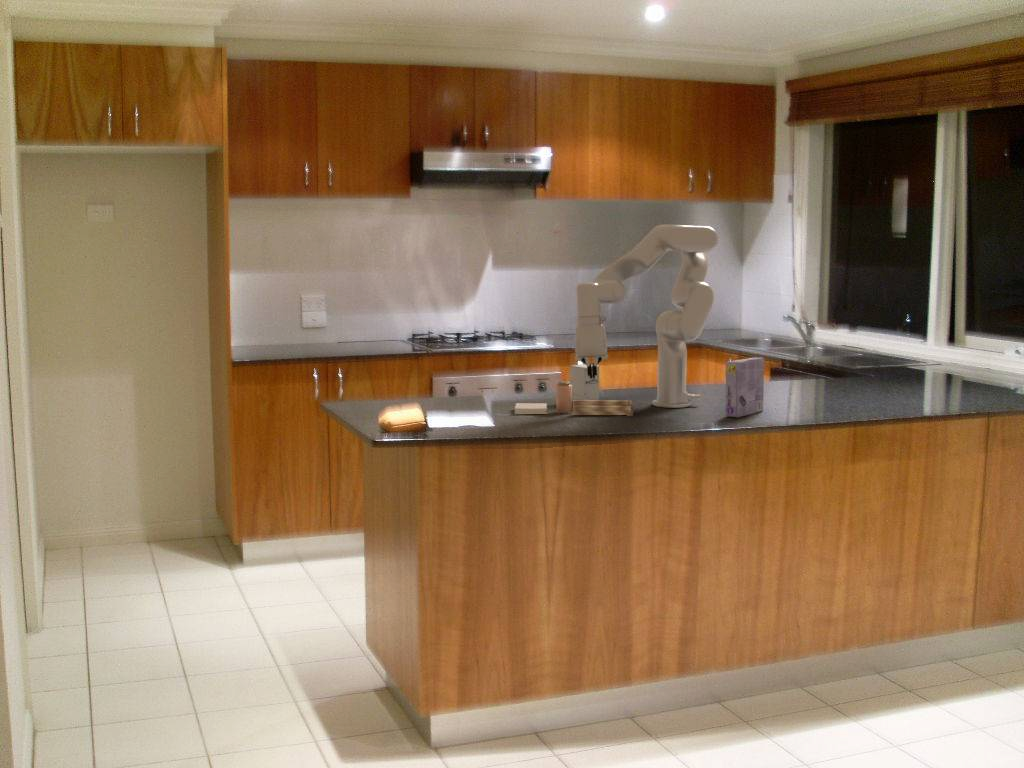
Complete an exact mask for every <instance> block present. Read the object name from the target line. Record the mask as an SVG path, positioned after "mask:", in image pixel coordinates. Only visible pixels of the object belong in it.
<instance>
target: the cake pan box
mask: <svg viewBox="0 0 1024 768" xmlns="http://www.w3.org/2000/svg"><path fill="white" fill-rule="evenodd" d="M764 377H765V357H749V358H743V359H736V360H731V361H725V417H730V418H736V419H738V418H741V417H745V416H750V415H754V414H756V413H760V412H763V411H764V396H765V395H764V392H765V391H764V390H765V389H764V388H765V387H764V386H765V385H764V384H765V383H764V381H765V378H764Z"/></svg>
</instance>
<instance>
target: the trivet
mask: <svg viewBox="0 0 1024 768" xmlns="http://www.w3.org/2000/svg"><path fill="white" fill-rule="evenodd" d="M547 406H548V404H547V403H546V402H545V403H543V402H542V403H541V402H540V403H537V402H536V403H535V402H534V403H533V402H528V403H527V402H526V403H525V402H524V403H523V402H522V403H521V402H518V403H517V402H516V403H515V406H514V415H515V414H546V415H547V412H548V411H547V410H548V407H547ZM546 411H547V412H546Z"/></svg>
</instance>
